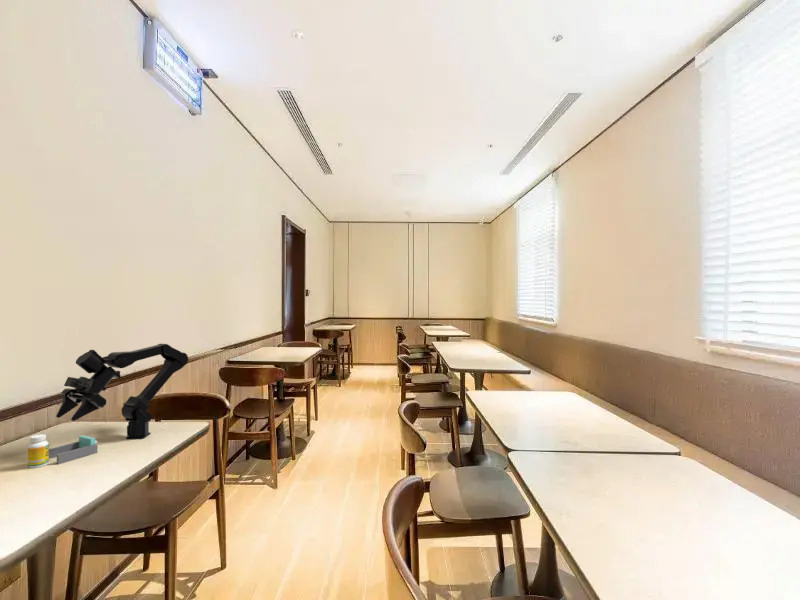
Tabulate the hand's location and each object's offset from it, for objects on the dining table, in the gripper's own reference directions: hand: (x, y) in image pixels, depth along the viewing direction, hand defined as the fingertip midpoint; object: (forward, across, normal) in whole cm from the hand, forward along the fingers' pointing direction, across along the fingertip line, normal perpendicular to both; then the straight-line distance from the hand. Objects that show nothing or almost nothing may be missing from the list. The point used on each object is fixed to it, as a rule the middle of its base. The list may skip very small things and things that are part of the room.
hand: (64, 418), depth 150 cm
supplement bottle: (+15, 0, +4) cm, 16 cm away
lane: (+7, 0, +12) cm, 14 cm away
